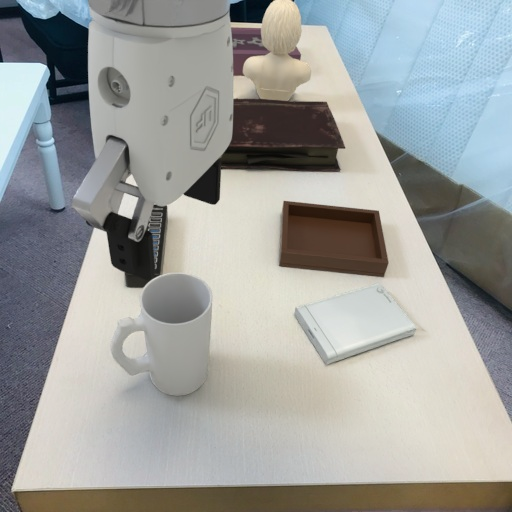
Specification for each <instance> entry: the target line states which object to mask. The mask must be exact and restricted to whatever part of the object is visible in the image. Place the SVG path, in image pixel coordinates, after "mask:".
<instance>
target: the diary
mask: <svg viewBox="0 0 512 512" xmlns="http://www.w3.org/2000/svg"><path fill="white" fill-rule="evenodd" d="M339 149H341V150H342V149H343V150H344V149H346V145H345V143H344V140H343V137H342V134H341V131H340V129H339V127H338V125H337V121H336V120H335V117H334V115H333V113H332V111H331V108H330V107H329V104H328V101H317V100H316V101H313V100H312V101H310V100H309V101H307V100H305V101H303V100H302V101H301V100H300V101H299V100H292V101H291V100H288V101H282V100H268V99H261V98H233V131H232V139H231V142H230V144H229V146H228V147H227V149H226V150H225V151H224V153H223V155H222V157H221V158H218V159H217V160H220V161H221V168H230V169H234V168H235V169H242V168H244V169H247V168H250V169H251V168H252V169H253V168H255V169H257V168H269V169H278V170H279V169H280V170H288V171H296V172H297V171H298V172H322V171H323V172H324V171H325V172H326V171H336V172H337V171H341V167H340V163H339V162H338V159H337V155H338V152H339V151H338V150H339Z"/></svg>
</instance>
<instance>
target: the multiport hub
mask: <svg viewBox="0 0 512 512" xmlns="http://www.w3.org/2000/svg"><path fill="white" fill-rule="evenodd" d="M168 221H169V214H168V205H166V206H158V205H156V204H154V206H153V209H152V212H151V215H150V218H149V221H148V224H147V228H146V230H148V231H150V232H151V233H152V236H153V249H154V262H155V275H154V276H153V278H152V279H154V278H156V277H158V276H160V275H163V272H164V271H163V270H164V260H165V251H166V243H167V242H166V240H167V232H168V231H167V230H168ZM123 274H124V281H125V287H127V288H144V287H145V285H146V284H147V283H148V282H150V281H151V280H152V279H151V280H149V281H148V280H145V279H142V278H140V277H137V276H135V275H132V274H128V273H125V272H123Z"/></svg>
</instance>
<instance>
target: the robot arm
mask: <svg viewBox="0 0 512 512" xmlns="http://www.w3.org/2000/svg"><path fill="white" fill-rule="evenodd" d="M87 2H88V10H89V16H90V17H91V19H92V20H91V21H90V22H89V23H88V40H87V41H88V42H87V44H88V45H87V52H88V53H87V72H88V73H87V75H88V76H87V77H88V78H87V79H88V100H89V101H88V102H89V113H90V116H89V117H90V126H91V134H92V135H91V137H92V143H93V152H94V156H95V161H94V162H93V164H92V165H91V167H90V169H89V170H88V172H87V173H86V175H85V177H84V179H83V180H82V182H81V183H80V185H79V187H78V189H77V191H76V192H75V193H74V195H73V198H72V200H71V206H72V208H73V209H74V210H75V211H76V212H77V214H79V216H80V217H81V218H82V219H83V220H84V221H85V223H86V225H87V226H89V227H92V228H94V229H96V230H100V231H102V232H106V237H107V239H106V240H107V244H108V245H107V246H108V251H109V258H110V264H111V265H112V267H113V268H115V269H117V270H118V271H120V272H123V273H124V272H125V273H128V274H132V275H135V276H137V277H140V278H142V279H145V280H148V281H149V280H151V279H152V278H153V276H154V275H155V262H154V249H153V236H152V233H151V232H150V231H148V230H146V228H147V224H148V221H149V218H150V215H151V212H152V209H153V206H154V204H156V205H158V206H166V205H167V206H168V205H171V204H172V203H174V202H175V201H178V199H180V198H181V197H182V196H185V197H188V198H191V199H194V200H197V201H200V202H203V203H206V204H209V205H212V206H213V205H214V206H216V205H217V204H218V203H219V201H220V200H221V182H222V181H221V179H222V177H221V176H222V167H221V161H220V160H217V159H218V158H221V157H222V155H223V153H224V151H225V150H226V149H227V147H228V146H229V144H230V142H231V139H232V131H233V99H234V75H233V47H232V34H231V27H232V25H231V16H230V8H231V0H87ZM131 175H132V177H133V179H134V182H135V183H136V185H134V184H131V183H128V182H127V179H128V178H129V177H130V176H131ZM125 194H126V195H129V196H132V197H135V198H137V201H136V204H135V207H134V211H133V214H132V216H131V218H130V217H127V216H125V215H122V214H120V213H119V211H120V208H121V205H122V201H123V198H124V195H125Z"/></svg>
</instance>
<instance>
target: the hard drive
mask: <svg viewBox="0 0 512 512" xmlns="http://www.w3.org/2000/svg"><path fill="white" fill-rule="evenodd" d="M293 314H294V316H295V318H296V320H297V321H298V323H299V324H300V326H301V327H302V329H303V331H304V333H305V334H306V336H307V337H308V339H309V340H310V342H311V344H312V345H313V347H314V348H315V350H316V351H317V353H318V354H319V355H318V356H320V358H321V360H322V361H323V362H324V364H325V365H329V364H332V363H335V362H338V361H341V360H343V359H344V360H345V359H346V358H350V357H352V356H356V355H358V354H361V353H364V352H367V351H370V350H373V349H375V348H379V347H382V346H385V345H387V344H390V343H393V342H395V341H399V340H402V339H405V338H407V337H410V336H413V335H415V334H416V331H417V325H416V324H415V323H414V322H413V320H412V319H411V318H410V316H409V315H407V313H406V312H405V311H404V309H402V308H401V306H400V304H398V303H397V301H396V300H395V299H394V298H393V297H392V295H391V294H390V293H389V292H388V291H387V290H386V288H385V287H384V286H383V285H382V284H381V283H379V282H377V283H374V284H370V285H367V286H364V287H360V288H357V289H354V290H350V291H346V292H342V293H339V294H337V295H336V294H335V295H333V296H329V297H326V298H322V299H319V300H315V301H312V302H309V303H306V304H303V305H299V306H295V308H294V313H293Z"/></svg>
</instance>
